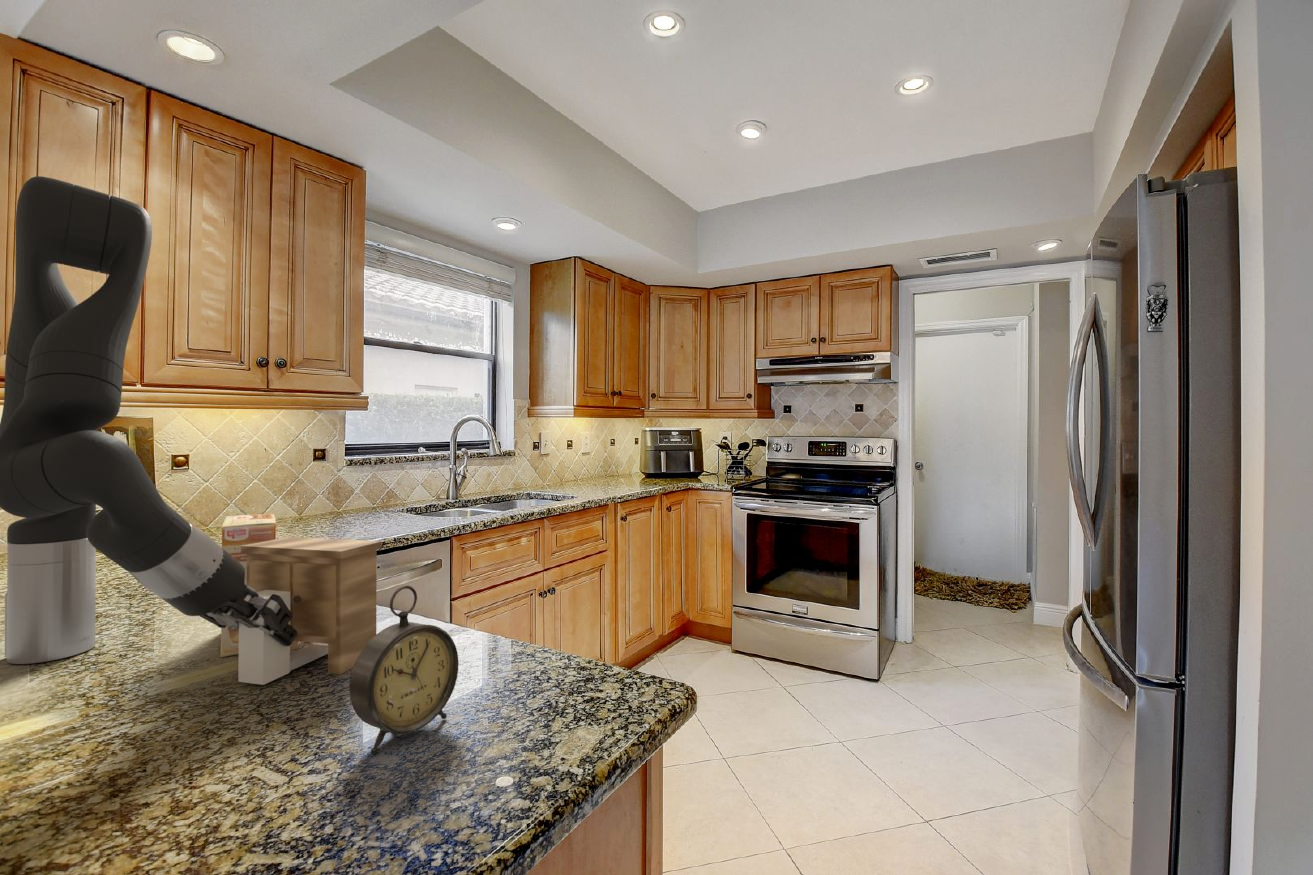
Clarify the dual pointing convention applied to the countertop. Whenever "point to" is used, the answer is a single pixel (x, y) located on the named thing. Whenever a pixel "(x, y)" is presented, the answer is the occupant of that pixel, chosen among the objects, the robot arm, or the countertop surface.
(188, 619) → the countertop surface
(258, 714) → the countertop surface
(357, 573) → the cabinet
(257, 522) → the coffeecake box
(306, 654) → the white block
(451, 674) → the alarm clock
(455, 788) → the countertop surface
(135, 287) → the robot arm
